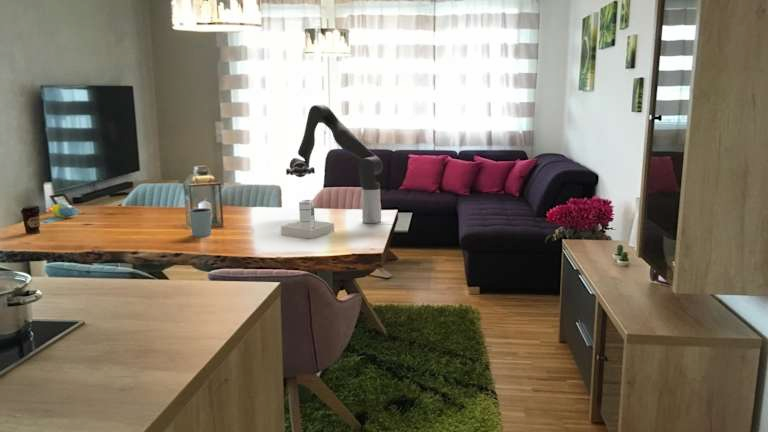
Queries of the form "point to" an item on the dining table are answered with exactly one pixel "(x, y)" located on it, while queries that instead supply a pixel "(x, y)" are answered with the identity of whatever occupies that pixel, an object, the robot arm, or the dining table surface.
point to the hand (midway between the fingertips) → (300, 172)
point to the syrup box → (307, 214)
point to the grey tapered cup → (200, 222)
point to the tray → (295, 229)
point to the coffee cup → (31, 219)
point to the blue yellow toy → (60, 212)
